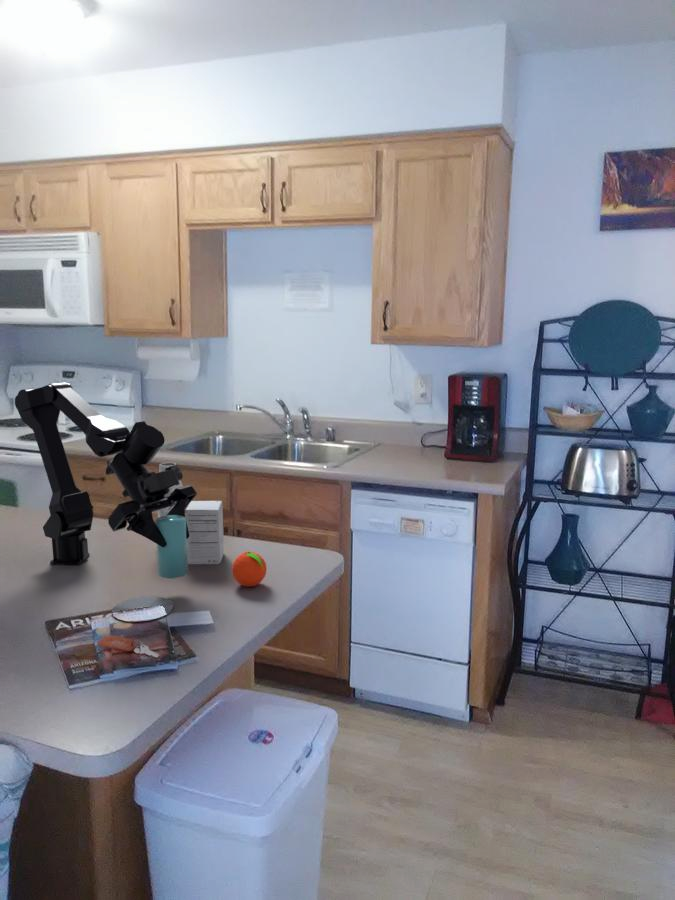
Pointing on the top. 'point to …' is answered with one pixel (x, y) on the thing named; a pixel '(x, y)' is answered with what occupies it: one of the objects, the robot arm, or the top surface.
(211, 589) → the top surface
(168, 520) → the cylinder
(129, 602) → the coaster
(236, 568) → the clementine
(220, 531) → the supplement box
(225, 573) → the top surface
